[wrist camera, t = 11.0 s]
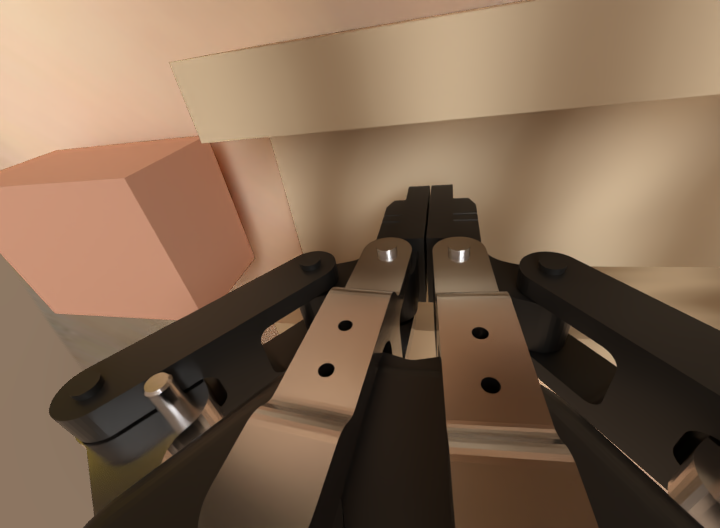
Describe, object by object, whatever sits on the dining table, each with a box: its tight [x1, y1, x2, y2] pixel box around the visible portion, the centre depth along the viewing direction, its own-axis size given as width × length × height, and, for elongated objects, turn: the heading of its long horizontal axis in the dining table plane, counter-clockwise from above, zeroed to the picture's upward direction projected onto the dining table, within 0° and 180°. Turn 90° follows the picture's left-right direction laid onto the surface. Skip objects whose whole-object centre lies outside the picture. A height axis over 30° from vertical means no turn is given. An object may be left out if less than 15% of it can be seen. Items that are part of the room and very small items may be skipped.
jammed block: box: [0, 136, 255, 320], centre depth 14 cm, size 8×6×4 cm
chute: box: [169, 0, 720, 366], centre depth 11 cm, size 20×11×5 cm, turn 98°
